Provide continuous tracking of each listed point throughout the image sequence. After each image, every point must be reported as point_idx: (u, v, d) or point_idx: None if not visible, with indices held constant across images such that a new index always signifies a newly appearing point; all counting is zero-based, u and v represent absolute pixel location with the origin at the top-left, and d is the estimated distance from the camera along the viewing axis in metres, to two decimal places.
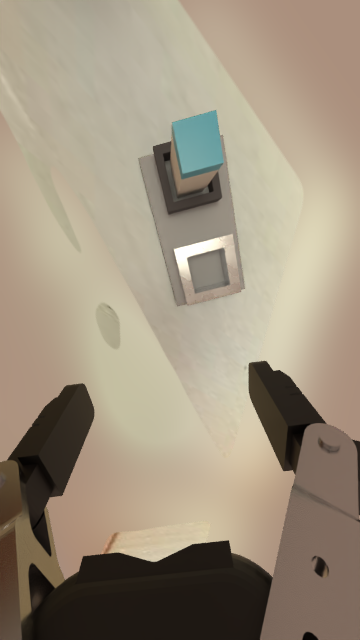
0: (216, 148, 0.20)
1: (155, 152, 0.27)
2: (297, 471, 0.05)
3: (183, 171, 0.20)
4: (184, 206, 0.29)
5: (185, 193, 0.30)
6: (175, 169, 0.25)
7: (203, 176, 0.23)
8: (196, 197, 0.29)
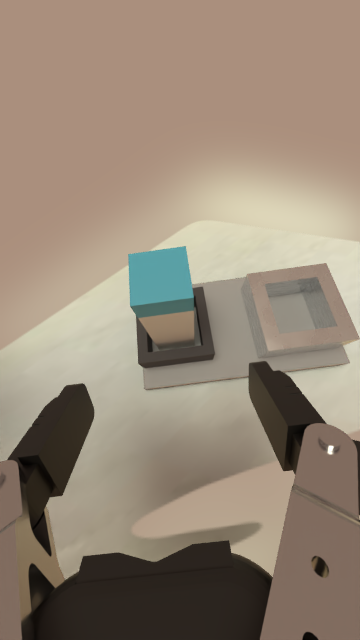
0: (168, 254, 0.15)
1: (145, 361, 0.21)
2: (297, 471, 0.05)
3: (190, 296, 0.13)
4: (209, 331, 0.22)
5: None
6: (172, 330, 0.19)
7: None
8: (200, 315, 0.23)
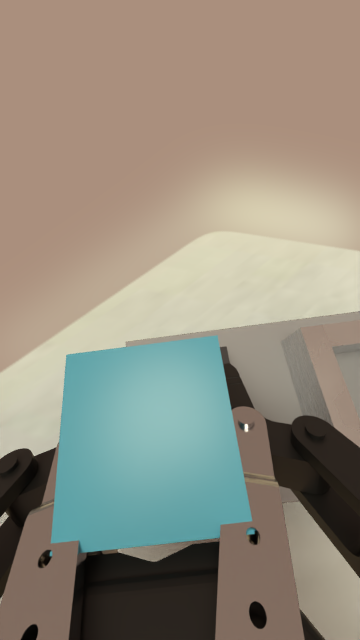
0: (171, 359, 0.05)
1: None
2: None
3: None
4: None
5: None
6: None
7: None
8: None
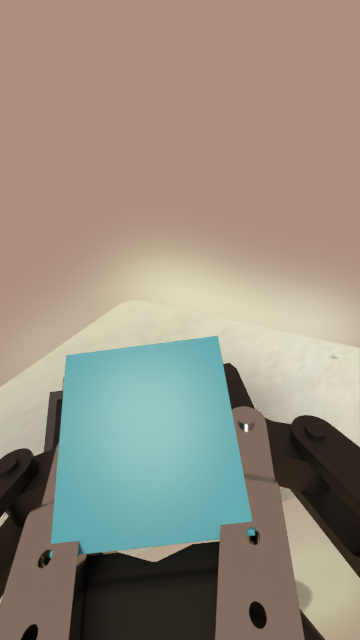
0: (172, 360, 0.05)
1: None
2: None
3: None
4: None
5: None
6: None
7: None
8: None
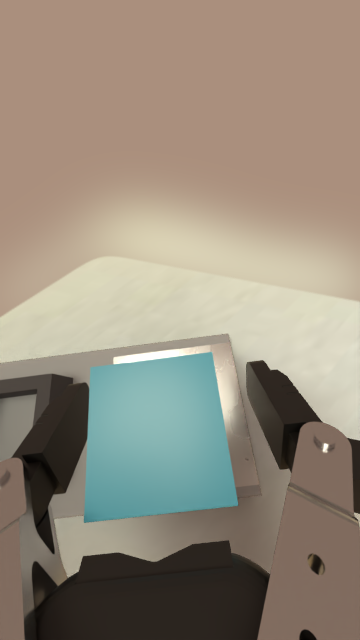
0: (175, 371, 0.07)
1: None
2: (293, 470, 0.05)
3: (230, 501, 0.06)
4: None
5: None
6: None
7: None
8: None
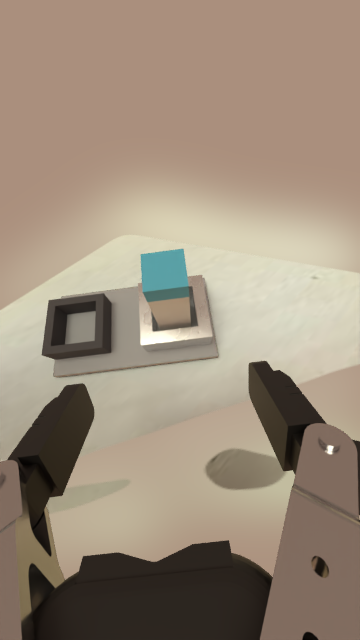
0: (170, 254, 0.20)
1: (47, 353, 0.27)
2: (297, 471, 0.05)
3: (186, 285, 0.18)
4: (101, 330, 0.27)
5: None
6: (172, 314, 0.24)
7: None
8: (96, 317, 0.28)
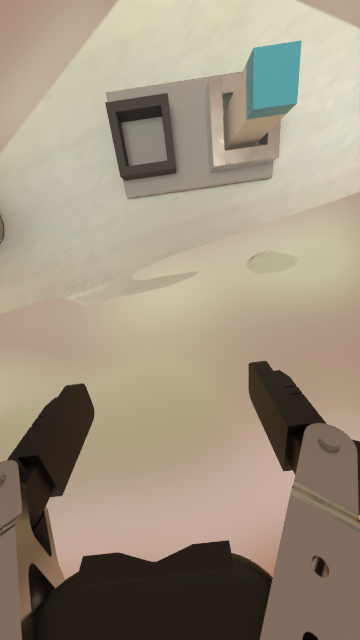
0: (286, 50, 0.18)
1: (125, 174, 0.29)
2: (297, 471, 0.05)
3: (295, 101, 0.20)
4: (172, 147, 0.28)
5: None
6: (254, 131, 0.25)
7: None
8: (165, 130, 0.27)
